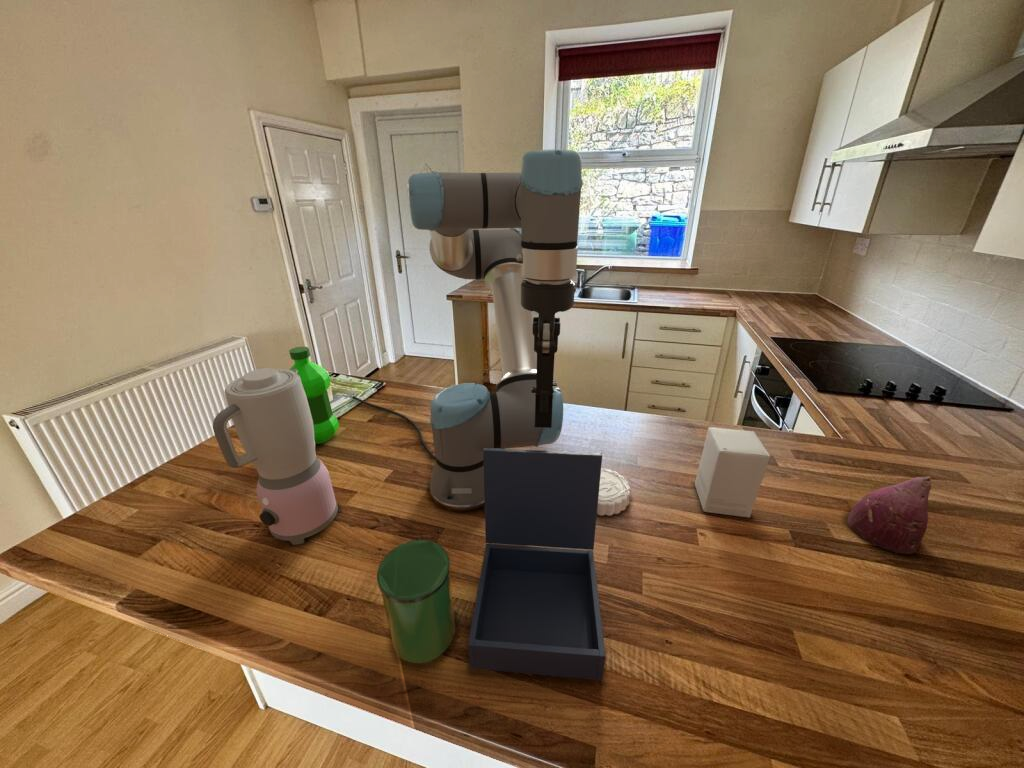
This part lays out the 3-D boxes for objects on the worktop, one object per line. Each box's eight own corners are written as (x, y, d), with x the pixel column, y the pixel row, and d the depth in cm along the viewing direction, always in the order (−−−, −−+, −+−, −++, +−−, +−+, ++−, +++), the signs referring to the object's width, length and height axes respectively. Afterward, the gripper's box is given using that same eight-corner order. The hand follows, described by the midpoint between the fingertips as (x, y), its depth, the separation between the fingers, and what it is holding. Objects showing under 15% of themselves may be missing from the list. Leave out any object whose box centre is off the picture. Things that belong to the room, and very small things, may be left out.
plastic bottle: (291, 441, 105) (265, 352, 94) (328, 423, 112) (308, 339, 101) (313, 454, 99) (288, 361, 88) (350, 434, 107) (331, 347, 96)
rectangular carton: (751, 519, 79) (772, 457, 72) (702, 512, 81) (719, 451, 74) (737, 488, 87) (755, 430, 80) (693, 483, 89) (708, 425, 82)
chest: (601, 683, 53) (605, 656, 50) (470, 671, 54) (467, 645, 52) (590, 574, 68) (593, 550, 65) (487, 567, 69) (486, 543, 67)
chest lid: (602, 455, 58) (601, 452, 59) (483, 450, 60) (483, 447, 61) (593, 550, 65) (592, 546, 65) (485, 543, 66) (486, 539, 67)
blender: (307, 493, 86) (267, 355, 72) (352, 507, 82) (319, 364, 68) (239, 548, 73) (173, 392, 59) (288, 568, 69) (230, 407, 55)
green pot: (386, 619, 61) (372, 553, 55) (446, 595, 64) (438, 530, 58) (398, 680, 53) (383, 612, 47) (465, 649, 57) (459, 582, 51)
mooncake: (631, 520, 79) (634, 506, 77) (570, 512, 81) (571, 498, 79) (626, 480, 90) (628, 467, 88) (572, 475, 91) (573, 462, 90)
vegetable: (891, 532, 80) (942, 472, 74) (922, 568, 70) (984, 503, 65) (834, 509, 82) (880, 449, 76) (857, 541, 73) (911, 476, 67)
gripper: (523, 270, 62) (522, 405, 72) (517, 289, 50) (517, 446, 60) (572, 271, 61) (564, 406, 71) (578, 289, 49) (567, 449, 59)
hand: (543, 424), depth 66 cm, fingers closed
